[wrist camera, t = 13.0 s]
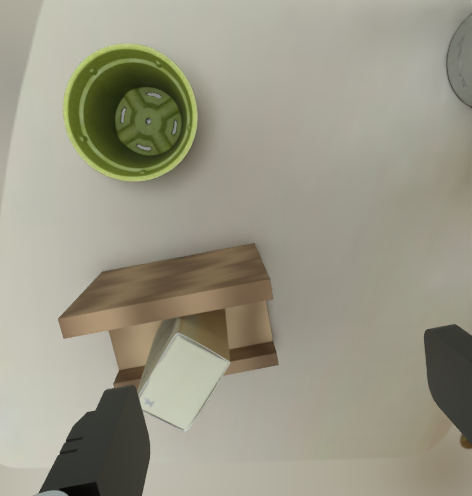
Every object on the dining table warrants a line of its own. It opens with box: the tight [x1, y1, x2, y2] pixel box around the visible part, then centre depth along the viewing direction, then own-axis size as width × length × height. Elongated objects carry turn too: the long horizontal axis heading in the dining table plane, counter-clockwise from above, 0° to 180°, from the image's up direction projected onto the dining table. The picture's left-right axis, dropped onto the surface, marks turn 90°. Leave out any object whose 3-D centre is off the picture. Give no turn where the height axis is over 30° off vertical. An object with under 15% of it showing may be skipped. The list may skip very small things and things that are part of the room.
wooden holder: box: [58, 244, 279, 390], centre depth 37 cm, size 15×10×12 cm
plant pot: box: [63, 44, 198, 182], centre depth 34 cm, size 9×9×9 cm
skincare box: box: [137, 308, 230, 432], centre depth 34 cm, size 6×4×12 cm
